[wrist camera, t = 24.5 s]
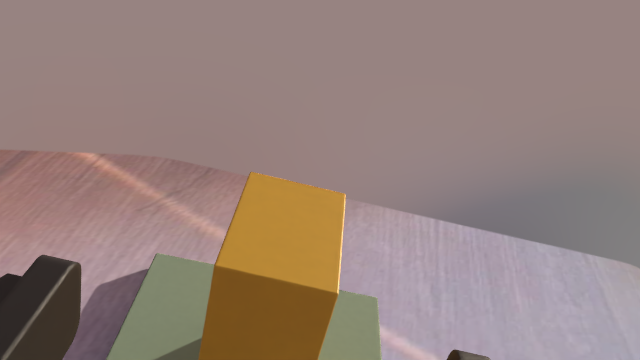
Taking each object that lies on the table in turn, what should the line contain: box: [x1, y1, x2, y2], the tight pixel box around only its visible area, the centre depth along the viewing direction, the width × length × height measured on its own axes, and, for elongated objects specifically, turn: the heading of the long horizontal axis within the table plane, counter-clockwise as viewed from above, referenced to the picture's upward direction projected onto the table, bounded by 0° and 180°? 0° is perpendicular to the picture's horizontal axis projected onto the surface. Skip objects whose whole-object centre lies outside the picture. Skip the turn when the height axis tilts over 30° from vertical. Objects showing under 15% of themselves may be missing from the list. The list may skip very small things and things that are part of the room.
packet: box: [198, 172, 346, 360], centre depth 26 cm, size 4×7×10 cm, turn 175°
